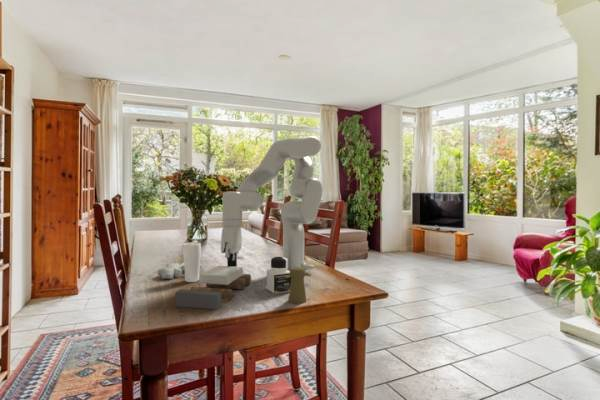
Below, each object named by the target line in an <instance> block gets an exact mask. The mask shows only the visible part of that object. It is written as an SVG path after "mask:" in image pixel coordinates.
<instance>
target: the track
mask: <svg viewBox="0 0 600 400" xmlns="http://www.w3.org/2000/svg"><path fill="white" fill-rule="evenodd" d="M251 282H252V275H251V274H250V273H249V274H247V273H243V275H242V276H240V277H239V278H237V279H236V280H234V281H233V282H231V283H230V284H228V285H224V284H209V283H205V285H206V287H207V288H221V289H232V290H244V289H245V287H246V286H250V284H251ZM234 297H235V293H233V296H232V298H234ZM228 301H229V300H228V299H226V298H222V303H228Z"/></svg>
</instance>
